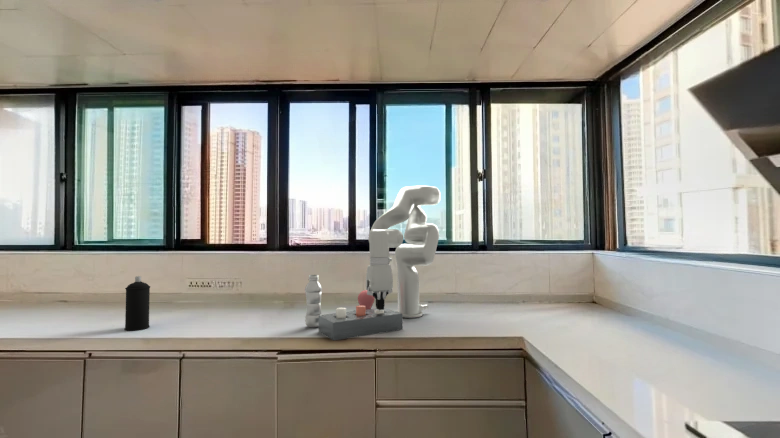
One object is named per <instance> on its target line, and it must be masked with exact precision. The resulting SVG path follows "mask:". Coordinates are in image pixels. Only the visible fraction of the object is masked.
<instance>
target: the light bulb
mask: <svg viewBox="0 0 780 438" xmlns="http://www.w3.org/2000/svg"><path fill="white" fill-rule="evenodd" d="M367 291H368V290H366V289H365V290H364V289H363V290H362V291H361V292H360V293H358V296H357V301H358V306H360V305H363V306H366V310H367V309H372V306H373V304H374V302H375V298H374V297H373V296H371V295H367Z"/></svg>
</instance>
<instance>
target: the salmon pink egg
mask: <svg viewBox="0 0 780 438" xmlns="http://www.w3.org/2000/svg"><path fill="white" fill-rule="evenodd" d="M355 311H356V316H364V315H366V306H363V305H355Z"/></svg>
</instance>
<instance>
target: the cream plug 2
mask: <svg viewBox="0 0 780 438" xmlns="http://www.w3.org/2000/svg"><path fill="white" fill-rule="evenodd" d="M375 313H376V314H380V313H384V310H375Z"/></svg>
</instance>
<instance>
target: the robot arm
mask: <svg viewBox="0 0 780 438" xmlns="http://www.w3.org/2000/svg"><path fill="white" fill-rule="evenodd" d="M441 195H442V194H441V191H440V190H439V188H438V187H437V186H430V185H410V186H404V187H402V188H401V189H400V190H399V192H398V193H397V196H396V198H395V200H394V202H393V204H392V206H391V208H390V209H388V210H387V211H386V212H384V213H383V214H381V215H380V216H379V217H378V218H376V220H375V221H374V222H373V224H372V226H371V229H370V231H369V234H368V243H369V265H367V267H366V274H365V290H368V291H367V295H371V296H373V297H374V300H375V309H376V308H377V309H378V310H384V308H385V299H386V298H387V296H388V295H389V294H391V293H393V287H394V279H393V270H392V266H391V264H390V262H392V260H393V259H392V257H390V248H393V249H394V248H395V251H394V256H395V262H396V268H397V269H396V270H397V271H396V272H397V310H396V312H399V313H402V319H403V318H404V319H405V318H406V319H407V318H408V319H411V318H415V319H416V318H420V317H422V316H423V311H424V310H428V309H429V305H428V304H420V275H419V272H418V270H417V268H416V266H421V267H423V266H425V267H427V266H431V265H432V264H433V262H434V259H435V256H436V251H437V247H438V244H439V238H440V237H439V236H440V231H439V228H438V225H436V224H434V223H429V222H427V220H428V216H427V214H426V213H425V211H424V209H422V208H421V206H424V207H425V206H436V205H438V204H439V203H440V202H441V199H442V198H441ZM406 221H407V223H406V225H405V229H404V234H403V232H402V231H401V230H400V229H396V228H391V227H394V226H397V225H399V224H401V223H404V222H406ZM404 242H405V243H404Z"/></svg>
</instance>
